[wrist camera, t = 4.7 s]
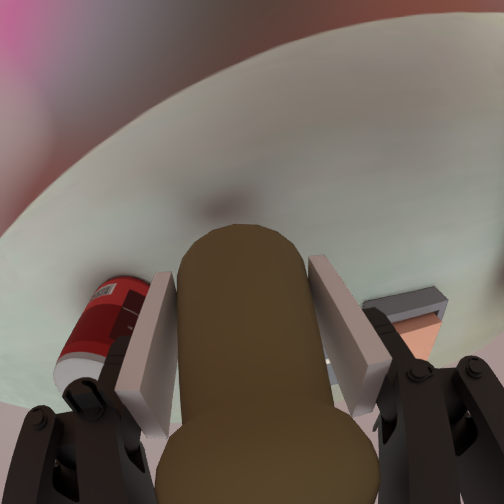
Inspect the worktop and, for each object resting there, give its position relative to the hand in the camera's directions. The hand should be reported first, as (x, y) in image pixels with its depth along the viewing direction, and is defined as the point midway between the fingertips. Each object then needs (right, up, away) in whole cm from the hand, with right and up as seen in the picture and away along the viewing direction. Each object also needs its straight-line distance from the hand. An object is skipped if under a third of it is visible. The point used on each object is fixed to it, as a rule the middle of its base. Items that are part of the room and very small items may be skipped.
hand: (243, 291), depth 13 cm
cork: (0, 0, +1) cm, 1 cm away
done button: (+18, -8, +17) cm, 26 cm away
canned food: (-12, -4, +14) cm, 18 cm away
